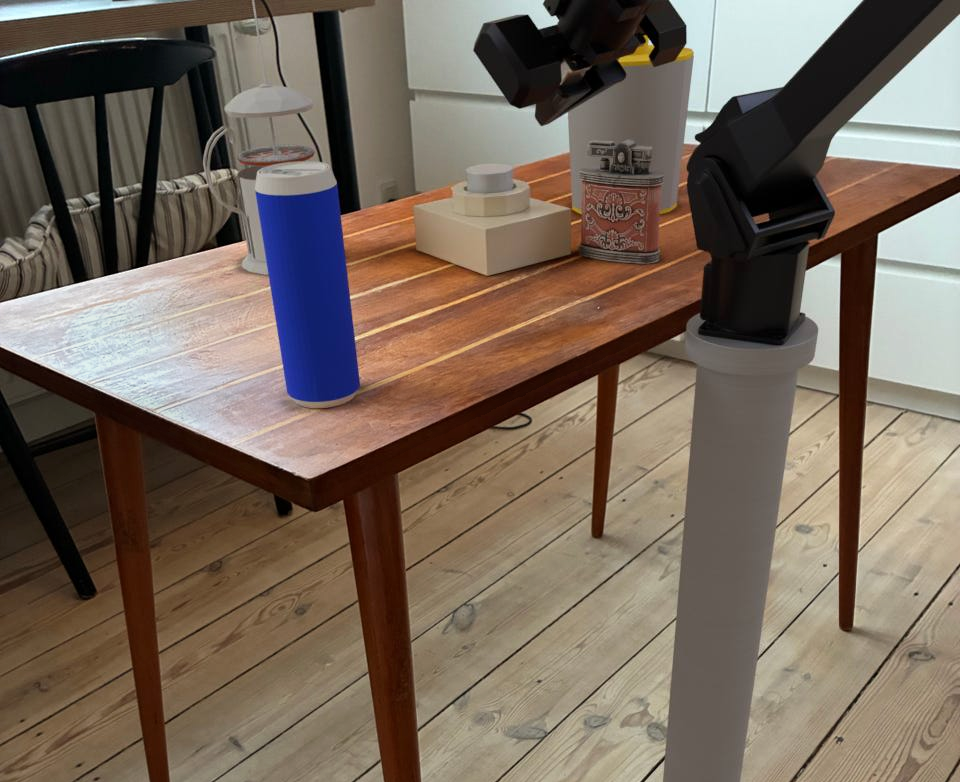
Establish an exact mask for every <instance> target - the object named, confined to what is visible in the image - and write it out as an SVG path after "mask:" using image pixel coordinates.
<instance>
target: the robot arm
mask: <svg viewBox="0 0 960 782" xmlns="http://www.w3.org/2000/svg"><path fill="white" fill-rule="evenodd" d="M542 6H543V7H544V8H545V10H546V11H547V13H548V14H549V16H550V17H551V18H552V17H556V18H557V20H558V21H557V24H554V25H551V26H550V25H549V26H546V27H542V28H538V27H537V25H536V24H535V22H534V20H532V18H531V16H530V15H529V14H515V15H510V16H506V17H502V18H498V19H495V20H490V21H487V22H483V24H482V26H481V28H480V29H479V32H478V35H477V37H476V39H475V41H474V43H473V44H474V45H473V50H472V51H473V52H474V54H475V55H476V57H477V58H478V60H479V61H480V63H481V65H482V66H483V67H484V69H485V70H486V71H487V73H488V75H489V76H490V77H491V79H492V80H493V81H494V83H495V85H496V86H497V88H498V89H499V90H500V92H501V93H502V95H503V97H504V98H505V99H506V101H507V102H508V104H509V105H510V106H512V107H514V108H516V109H519V110H521V109H524V108H527V107H531V106H534V105H535V110H534V119H535V120H536V122H537V123H538V125H539V126H540V127H544V126H547V125H550V124H551V123H553V122H555V121H556V120H557V119H559V118H561V117H563V116H564V115H566V114H568V112H569V111H571V110H572V109H574V108H576V107H577V106H579V105H581V104H582V103H584V102H586V101H587V100H589V99H591V98H592V97H594V96H596V95H598V94H599V93H601V92H603V91H605V90H606V89H608V88H610V87H611V86H613V85H615V84H617V83H619V82H622V81H623V80H624V79H625V78H626V72H625V70H624V69H623V67H622V66H621V64H620V63H619V61H618V60H619V59H620V58H621V57H624V56H627V55H631V54H634V52H635V51H636V49H637V48H638V47H640V46H643V45H644V44H645V43H646V39H645V38H644V36H645V35H647V37H648V38H649V42H650V43H651V45H653V46H654V48H653V50H652V52H651V53H650V55H649V59H650V62H651V64H652V65H653V66H654V67H657V66H660V65H663V64H667V63H670V62H673V61H675V60H676V58H677V57H678V55H679V54H680V52H681V51H682V50H683V48H684V47H685V46H687V43H688V42H687V41H688V40H687V39H688V36H687V34H688V33H687V24H686V22H685V21H684V20H683V18H682V17H681V15H680V14H679V12H678V11H677V10H676V8H675V7H674V5H673V4H672V2H671V1H670V0H544V1H543V3H542ZM959 16H960V0H862V1H861V2H860V3H859V4H858V5H857V6H856V7H855V8H854V9H853V10H852V11H851V12H850V13H849V14H848V16H847V17H846V18H845V19H844V20H843V21H842V22H841V23H840V24H839V26H838V27H837V28H836V29H835V30H834V31H833V32H832V33H831V35H829V37H828V38H827V39H825V41H824V42H823V43H822V44H821V45H820V46H819V47H818V48H817V50H815V52H814V53H813V54H812V55H811V56H810V57H809V58H808V59H807V60H806V62H804V64H803V65H802V66H801V67H800V68H799V70H797V71H796V73H794V74H793V76H792V77H791V78H790V79H789V80H788V81H787V82H786V83H785V84H784V85H783V86H780V87H775V88H769V89H764V90H760V91H753V92H749V93H744V94H739V95H734V96H732V97H731V98H729V99H728V100H727V102H726V103H725V104H723V106H722V107H721V108H720V110H719V111H718V112H717V115H716V117H715V118H714V120H713V121H712V122H711V124H710V125H709V126H708V127H706V129H704V130H703V131H700V132H698V133H696V134H695V135H694V140H695V141H696V142H698V143H699V144H698V145H697V146H696V147H695V148H693V149H694V150H693V151H692V152H691V154H690V156H689V158H688V161H687V164H686V168H685V169H686V172H688V173H687V174H688V175H687V179H686V191H687V198H688V203H689V210H690V215H691V220H692V226H693V231H694V238H695V243H696V248H697V249H698V250H699V251H703V252H705V253H708V254H709V255H710V257H711V259H710V260H709V261H707V263H706V264H705V265H703V270H702V271H703V272H702V273H703V274H702V285H701V299H700V311H699V313H700V318H701V319H702V320H706V321H705V322H704V323H703V324H701V325H700V326H699V327H698V334H699V335H703V336H710V337H717V338H725V339H732V340H739V341H746V342H754V343H761V344H768V345H776V346H780V345H784V344H785V343H786V342H787V340H788V339H789V338H790V337H791V336H792V335H793V333H794V332H795V331H796V330H797V329H798V328H799V326H800V325H801V324H802V323H803V322H804V320H805V316H806V313H805V312H801V308H802V301H803V300H802V299H803V293H804V286H805V278H806V273H807V272H806V271H807V264H808V259H809V257H808V256H809V249H810V242H812V241H815V240H816V241H817V240H818V241H819V240H822V239H824V238H825V237H826V235H827V233H828V231H829V229H830V226H831V225H832V223H833V220H834V219H835V215H836V211H835V208H834V207H833V204H832V202H831V201H830V199H829V198H828V196H827V194H826V192H825V190H824V188H823V187H822V185H821V183H820V181H819V179H818V178H817V175H818V174H819V173H820V171H821V170H822V168H823V167H824V165H825V161H826V158H827V155H828V152H829V148H830V146H831V143H832V140H833V139H834V137H835V136H836V135H837V134H838V132H839V131H841V129H842V128H843V127H844V126H845V125H847V124H848V122H850V120H851V119H852V118H854V116H856V114H858V113H859V112H860V111H861V110H862V109H863V108H864V107H865V106H866V105H867V104H869V102H870V101H871V100H872V99H873V98H874V97H876V95H877V94H879V93H880V92H881V91H882V90H883V89H884V87H886V86H887V85H888V84H889V83H890V82H892V80H894V78H895V77H896V76H897V75H898V74H899V73H900V72H902V70H903V69H904V68H906V67H907V66H908V65H909V64H910V63H911V62H912V61H913V60H914V59H915V58H916V57H917V56H918V55H919V54H920V53H921V52H922V51H923V50H924V49H926V48H927V46H928V45H930V44H931V43H932V42H933V41H934V40H935V39H936V38H937V37H938V36H939V35H940V34H941V33H942V32H943V31H944V30H945V29H946V28H947V27H948V26H949V25H950V24H951V23H952V22H953V21H955V19H956V18H958V17H959ZM685 48H686V47H685ZM766 214H767V215H768V220H764V221H761V222H757V223H756V221H755V220H754V218H756V217H759V216H763V215H766Z"/></svg>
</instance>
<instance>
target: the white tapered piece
mask: <svg viewBox="0 0 960 782" xmlns="http://www.w3.org/2000/svg"><path fill="white" fill-rule="evenodd" d="M644 38H645V39H646V43H645V44H644V45H643V46H640V47H638V48H637V49H636V51H635V52H634V54H631V55H627V56H624V57H621V58H620V59H619V60H618V61H619V63H620V64H621V66H622V67H623V69H624V70H625V72H626V78H625V79H624V80H623V81H622V82H619V83H617V84H615V85H613V86H611V87H610V88H608V89H606V90H605V91H603V92H601V93H599V94H598V95H596V96H594V97H592V98H591V99H589V100H587V101H586V102H584V103H582V104H581V105H579V106H577V107H576V108H574V109H572V110H571V111H569V112H567V123H568V124H567V125H568V146H569V168H570V191H571V193H570V194H571V211H573V212H576V213H578V214H579V215H582V180H581V179H580V169H582V168H584V167H589V166H600V160H602V158H600V157H589V156H588V144H589V143H590V141H592V140H599V141H613V142H615V144H619V143H621V142H623V141H626V140H633V141H635V143H636V145H637V146H649V147H652V159H651V163H650V166H649V170H653V171H660V172H663V173H664V181H663V184H661V199H660V215H663V214H667V213H670V212H672V211H673V210H674V209H675V208H677V205H678V196H679V186H680V179H681V170H682V162H683V152H684V144H685V136H686V126H687V118H688V110H689V101H690V93H691V84H692V77H693V66H694V57H695V56H694V53H695V52H694V50H693V48H689V47H684V48H683V50H682V51H681V52H680V54H679V55H678V57H677V58H676V60H675V61H673V62H670V63H667V64H663V65H660V66H657V67H654V66H653V65H652V64H651V62H650V59H649V55H650V53H651V52H652V50H653V48H654V46H653V44H649V42H650V40H649V38H648V37H647V35H645V36H644ZM609 160H610V165H612V160H613V158H609ZM639 163H640V161H639Z"/></svg>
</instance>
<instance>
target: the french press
mask: <svg viewBox="0 0 960 782" xmlns="http://www.w3.org/2000/svg"><path fill="white" fill-rule="evenodd" d="M251 4H252V10H253V16H254V23H255V31H256V37H257V44H258V51H259V57H260V64H261V70H262V77H263V83H261V84H260V85H259V86H255V87H253V88H249V89H246V90H243V91H241V92H240V93H238V94H237V95H235V96H234V97H233V98H232V99H231V100H230V101H229V102H228V103H227V104H226V105H224V112H225V114H226V115H227V116H229V117H231V118H236V119H237V118H240V119H242V118H243V119H248V118H249V119H253V118H256V119H257V118H260V119H261V118H263V119H264V118H269V124H270V131H271V138H272V144H273V146H272V145H270V146H269V145H266V146H260V147H259V146H258V147H254V148H250V149H247V150H243V151H242V152H240V153H239V154H238V155H237V160H238V162H239V163H240V164H243V165H246V166H249V167H246V168H244V169H242V170H240V171H238V172H237V179H238V184H239V190H240V198H241V201H242V202H241V203H242V208H243V210H242V209H241V208H239V207H236V206H234V205H231V204H228V203H226V202H225V201H224V200H223V199H221V197H220V195H219V193H218V192H217V190H216V188H215V186H214V184H213V180H212V174H211V157H212V152H213V149H214V147H215V146H216V144H217V142H218V141H219V139H220V138H221V137H222V136H223V135H225V134H226V133H227V135H228V141H229V142H230V144H231V145H233V146H235V145H236V137H235V132H234V130H233V129H232V128H230V127H229V126H227V125H222V126H221V127H219V128H218V129H216V130H215V131H214V132H213V133H212V134H211V136H210V138H209V139H208V140H207V142H206V145H205V148H204V153H203V160H202V166H203V171H204V176H205V181H206V183H207V186H208V188H209V190H210V192H211V193H212V195H213V196H214V198H215V199H216V200H217V201H218V202H219V203H220V205H222V206H223V207H224V208H226V209H227V210H228V211H231V212H233V213H235V214H238V215H241V219H242V224H243V230H244V236H245V242H246V248H247V255H246V256H245V258H244V259H242V260H243V261H242V262H241V268H242V269H244V270H245V271H247V272H249V273H252V274H258V275H265V276H269V275H268V268H267V262H266V256H265V249H264V243H263V237H262V231H261V224H260V218H259V212H258V205H257V199H256V193H255V184H256V177H257V172H258V170H260V169H262V168H264V167H267V166H270V165H274V164H280V163H287V162H298V161H309V160H310V159H311V158H313V157H314V155H315V150H314V148H312V147H310V146H307V145H302V144H301V145H298V144H294V145H292V144H287V146H286V145H283V144H281V145H279V144H276V138H275V132H274V131H275V130H274V124H273V118H274V117H283V116H290V115H296V114H302V113H306V112H309V111H310V110H312V109H313V106H314V101H313V99H312V98H310V97H309V96H307V95H305V94H304V93H302V92H301V91H299V90H297V89H294V88H290V87H288V86H281V85H272V83H270V82H267V77H266V70H265V63H264V58H263V57H264V56H263V50H262V45H261V37H260V36H261V35H260V31H259V22H258V18H257V10H256V9H257V8H256V3H255V0H251Z"/></svg>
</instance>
